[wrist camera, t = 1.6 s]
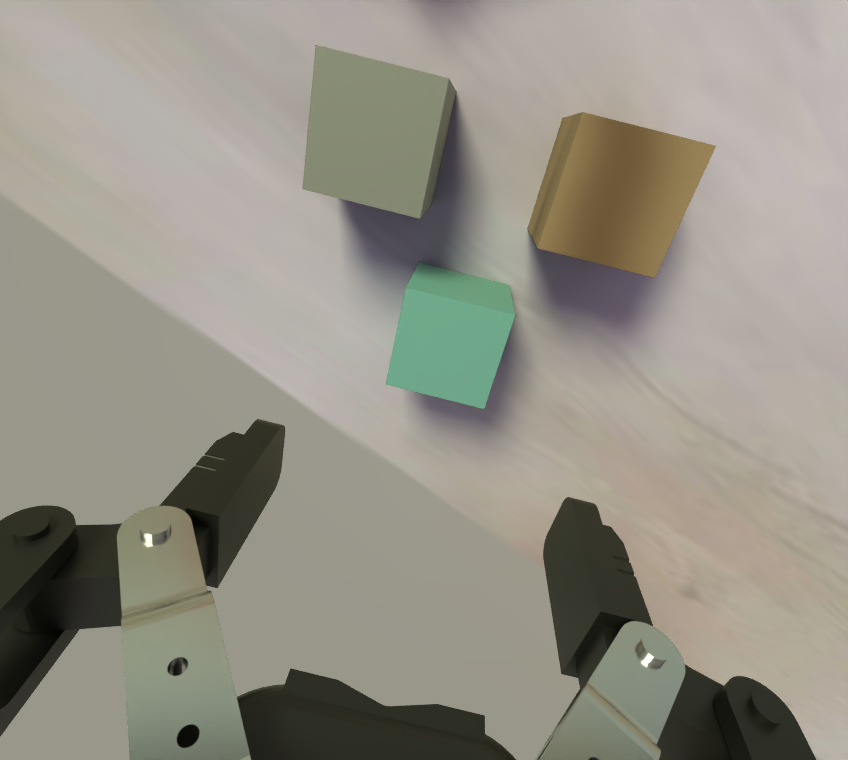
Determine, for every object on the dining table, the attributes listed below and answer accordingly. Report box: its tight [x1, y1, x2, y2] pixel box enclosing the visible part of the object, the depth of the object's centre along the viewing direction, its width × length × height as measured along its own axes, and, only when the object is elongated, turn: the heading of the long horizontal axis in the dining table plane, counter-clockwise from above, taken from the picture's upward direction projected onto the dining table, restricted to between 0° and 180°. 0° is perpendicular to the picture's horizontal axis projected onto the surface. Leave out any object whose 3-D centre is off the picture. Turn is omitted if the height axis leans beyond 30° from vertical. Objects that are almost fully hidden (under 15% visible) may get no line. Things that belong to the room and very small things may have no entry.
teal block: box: [386, 262, 515, 409], centre depth 24 cm, size 5×5×5 cm
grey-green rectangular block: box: [303, 45, 456, 219], centre depth 20 cm, size 5×5×5 cm
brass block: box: [528, 112, 716, 278], centre depth 20 cm, size 5×5×5 cm
